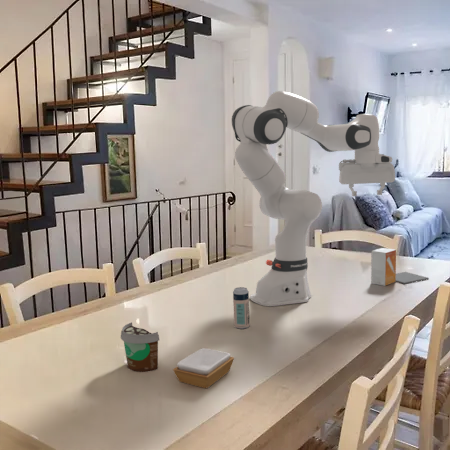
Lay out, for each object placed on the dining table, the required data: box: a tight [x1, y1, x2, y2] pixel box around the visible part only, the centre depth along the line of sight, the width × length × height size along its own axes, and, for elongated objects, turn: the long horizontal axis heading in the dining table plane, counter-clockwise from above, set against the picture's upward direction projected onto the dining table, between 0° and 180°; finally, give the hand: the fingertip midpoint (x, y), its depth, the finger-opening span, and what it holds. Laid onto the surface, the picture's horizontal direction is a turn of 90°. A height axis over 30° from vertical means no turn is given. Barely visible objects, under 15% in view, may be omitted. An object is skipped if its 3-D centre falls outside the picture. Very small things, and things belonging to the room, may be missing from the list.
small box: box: [370, 247, 397, 287], centre depth 201 cm, size 8×6×13 cm
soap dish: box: [172, 347, 235, 389], centre depth 124 cm, size 12×10×5 cm
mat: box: [394, 271, 430, 285], centre depth 207 cm, size 13×12×1 cm
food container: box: [120, 322, 160, 373], centre depth 131 cm, size 12×6×10 cm, turn 45°
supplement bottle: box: [232, 286, 250, 330], centre depth 157 cm, size 5×5×12 cm
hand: (366, 195), depth 194 cm, fingers open, 8 cm apart
